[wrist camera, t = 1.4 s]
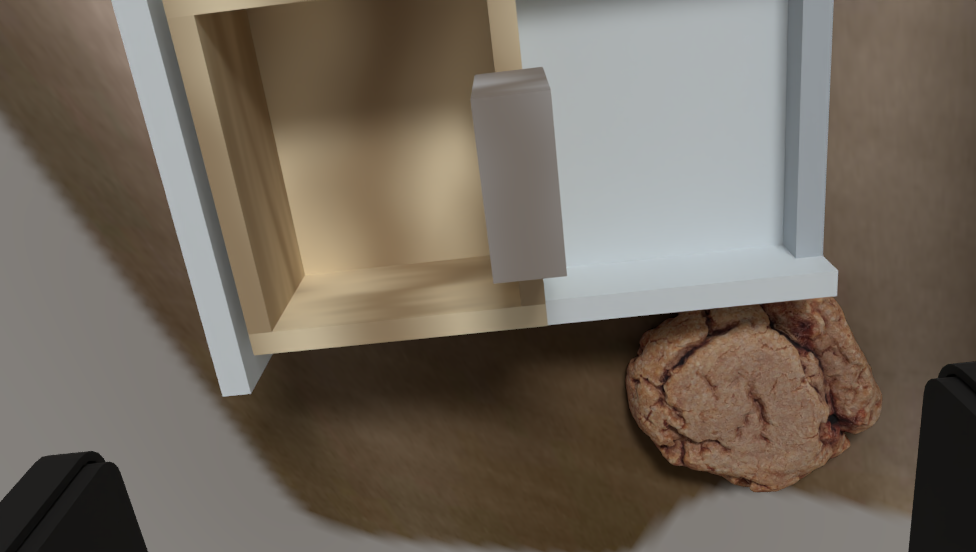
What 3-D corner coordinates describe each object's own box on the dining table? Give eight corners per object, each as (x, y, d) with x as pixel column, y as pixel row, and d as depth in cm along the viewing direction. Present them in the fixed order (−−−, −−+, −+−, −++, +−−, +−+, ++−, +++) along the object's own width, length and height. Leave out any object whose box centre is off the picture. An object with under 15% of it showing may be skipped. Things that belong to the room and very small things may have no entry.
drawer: (525, -59, 28) (537, -59, 19) (554, 260, 32) (576, 385, 23) (223, -20, 28) (93, -2, 19) (294, 287, 33) (215, 420, 24)
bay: (811, -140, 28) (907, -165, 21) (798, 256, 33) (872, 332, 27) (185, -58, 29) (95, -58, 22) (274, 310, 34) (222, 396, 28)
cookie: (620, 285, 34) (631, 316, 31) (875, 265, 34) (909, 294, 31) (627, 480, 38) (637, 522, 35) (856, 464, 37) (885, 506, 35)
